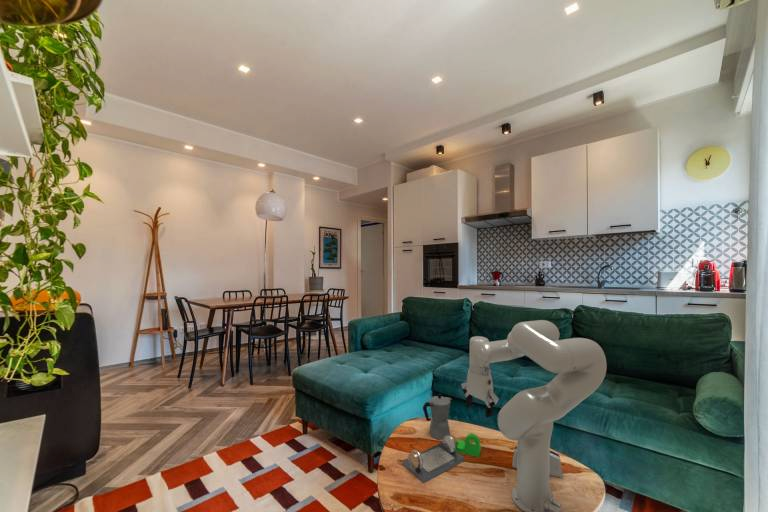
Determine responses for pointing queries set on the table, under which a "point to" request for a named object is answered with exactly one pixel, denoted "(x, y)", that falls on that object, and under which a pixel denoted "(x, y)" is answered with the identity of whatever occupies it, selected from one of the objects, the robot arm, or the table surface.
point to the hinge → (554, 463)
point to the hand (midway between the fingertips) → (478, 411)
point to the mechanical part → (469, 446)
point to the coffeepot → (438, 416)
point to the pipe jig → (434, 459)
